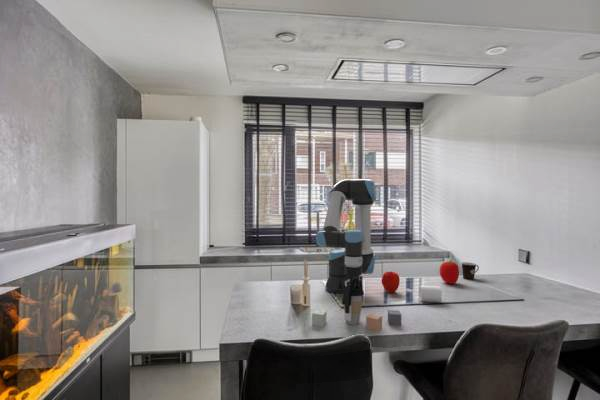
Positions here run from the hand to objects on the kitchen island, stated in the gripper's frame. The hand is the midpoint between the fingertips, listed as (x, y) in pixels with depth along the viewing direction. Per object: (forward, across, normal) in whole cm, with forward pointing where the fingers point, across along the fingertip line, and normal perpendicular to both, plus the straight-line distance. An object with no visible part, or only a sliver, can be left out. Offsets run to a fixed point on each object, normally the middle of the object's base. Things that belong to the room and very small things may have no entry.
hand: (352, 317), depth 151 cm
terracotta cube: (+2, 0, -10) cm, 10 cm away
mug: (+3, +53, -18) cm, 56 cm away
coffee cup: (+2, 0, 0) cm, 2 cm away
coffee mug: (+2, +117, -27) cm, 120 cm away
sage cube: (+2, -10, +11) cm, 15 cm away
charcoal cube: (+2, +10, -15) cm, 18 cm away
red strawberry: (+2, +96, -18) cm, 98 cm away
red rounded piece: (+2, +54, +4) cm, 54 cm away
